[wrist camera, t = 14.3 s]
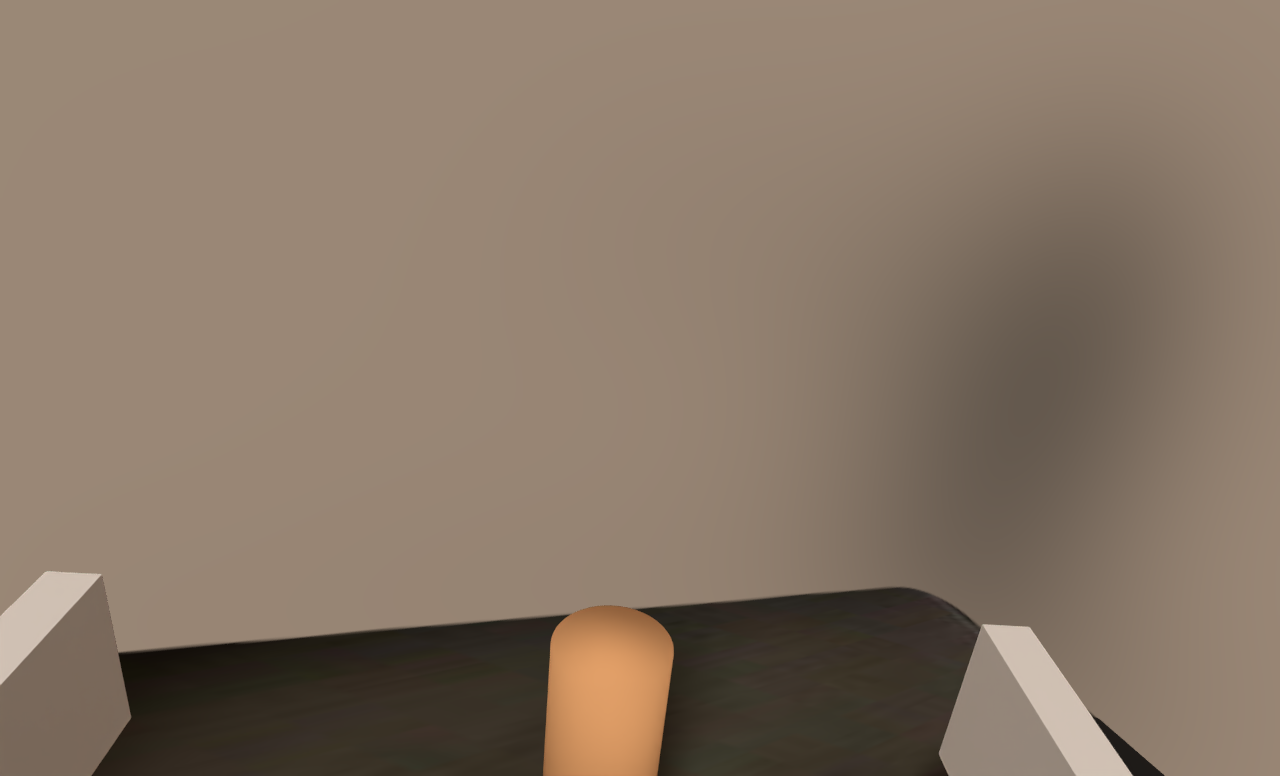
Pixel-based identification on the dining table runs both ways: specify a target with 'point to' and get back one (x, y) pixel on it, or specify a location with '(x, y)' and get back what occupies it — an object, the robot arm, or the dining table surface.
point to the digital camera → (1128, 753)
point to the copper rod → (607, 694)
